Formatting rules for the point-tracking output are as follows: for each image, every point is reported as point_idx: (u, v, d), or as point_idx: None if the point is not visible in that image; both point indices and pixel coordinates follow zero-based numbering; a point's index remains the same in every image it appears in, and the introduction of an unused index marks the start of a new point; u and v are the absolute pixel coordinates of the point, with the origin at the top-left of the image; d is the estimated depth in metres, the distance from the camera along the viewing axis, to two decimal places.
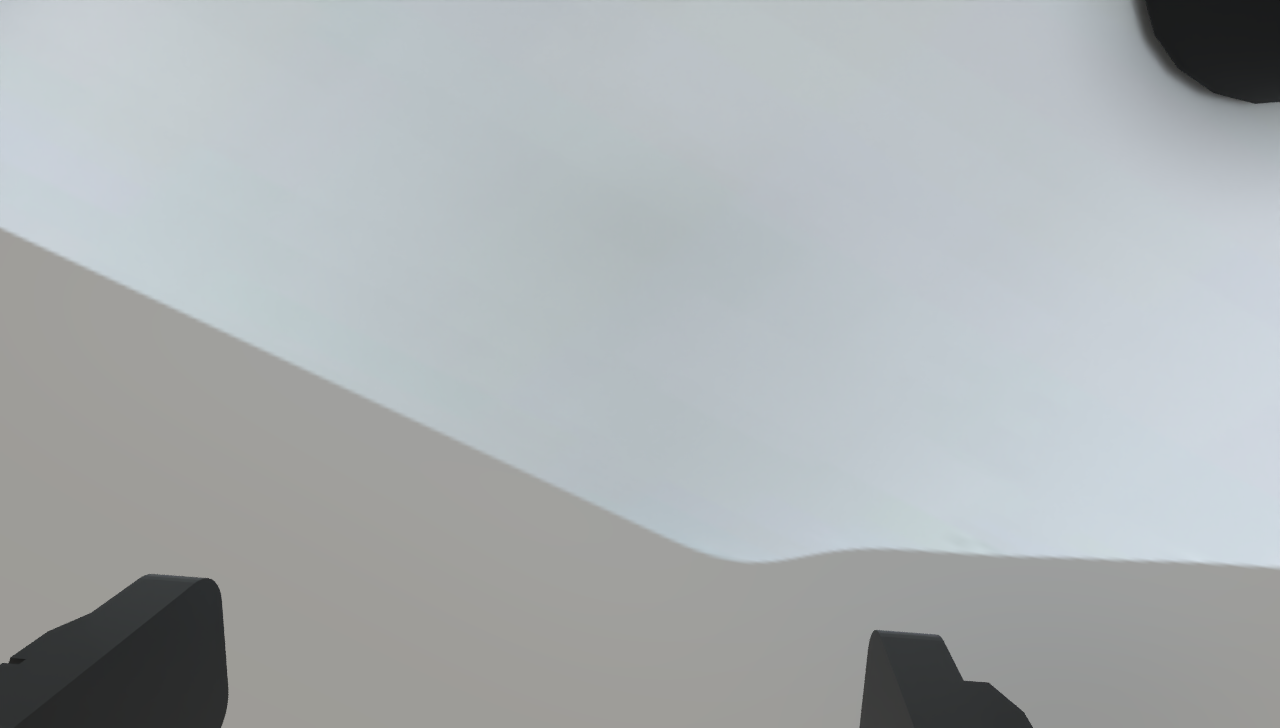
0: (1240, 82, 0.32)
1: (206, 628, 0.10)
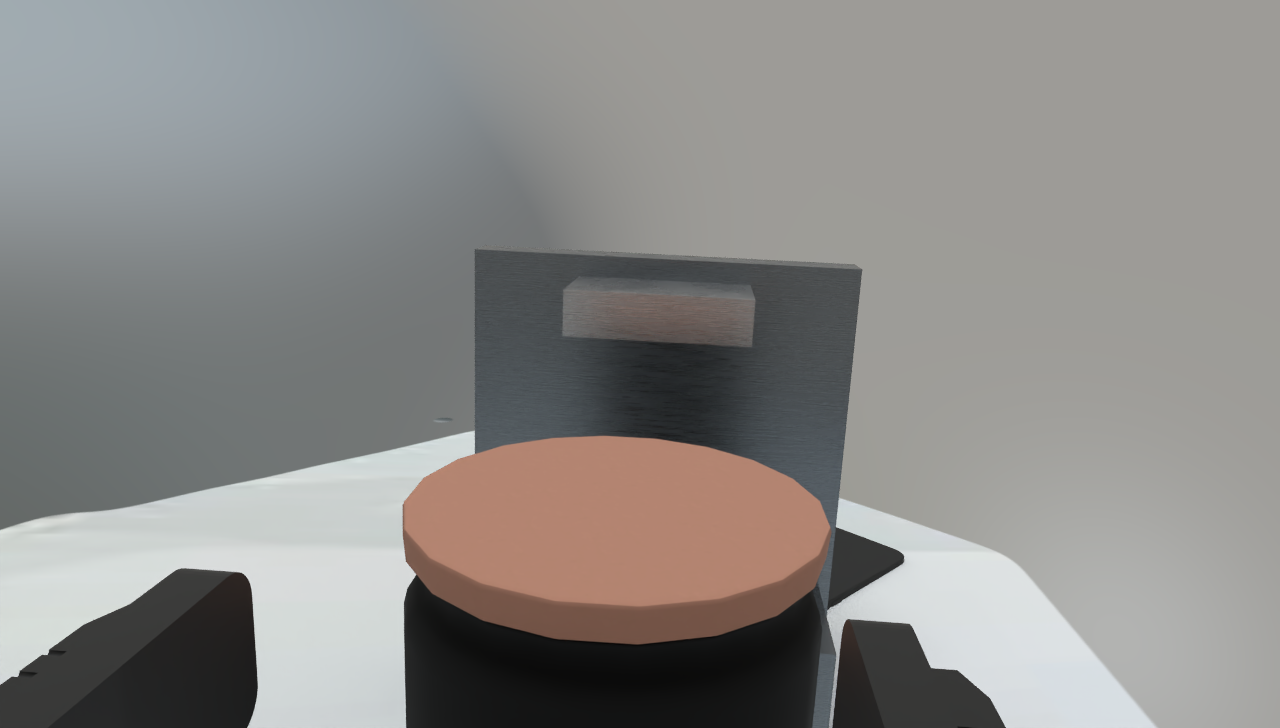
0: None
1: (237, 622, 0.10)
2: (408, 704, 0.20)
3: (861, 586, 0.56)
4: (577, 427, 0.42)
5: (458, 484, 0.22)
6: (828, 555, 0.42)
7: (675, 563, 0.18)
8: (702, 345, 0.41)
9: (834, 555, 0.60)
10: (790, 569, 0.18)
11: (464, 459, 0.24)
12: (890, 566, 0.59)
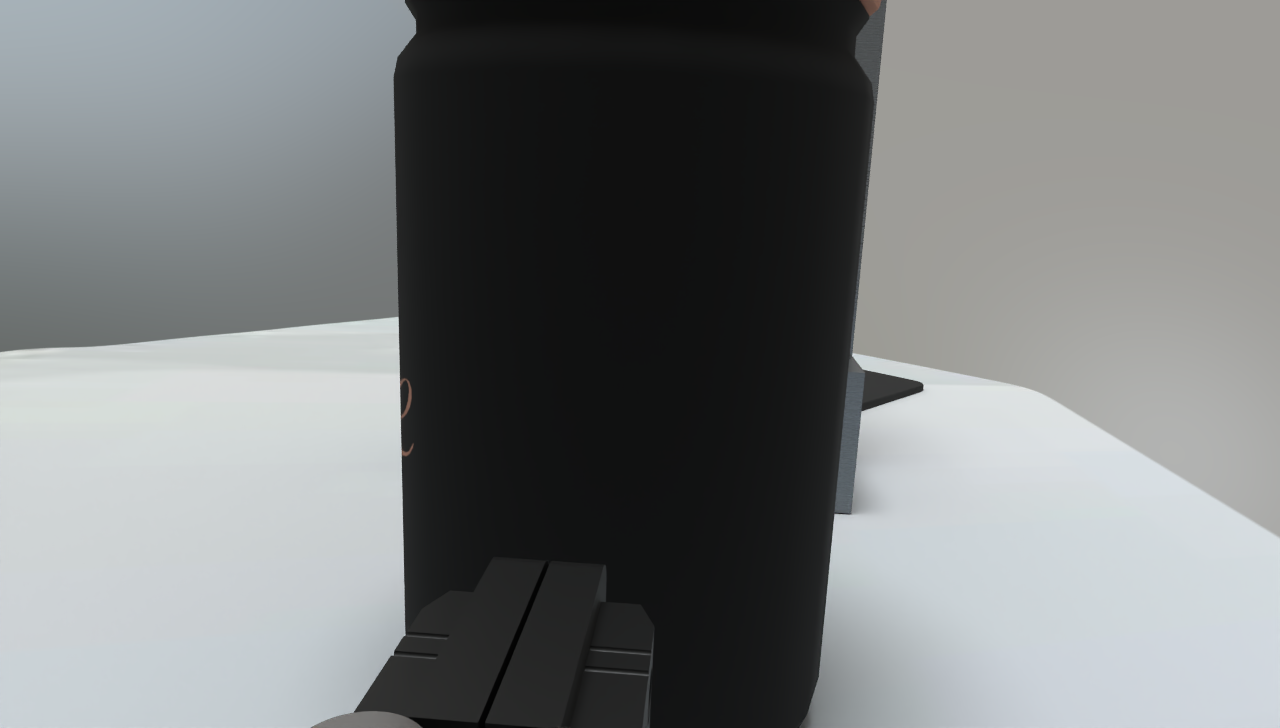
0: (702, 687, 0.17)
1: None
2: (398, 161, 0.18)
3: (880, 402, 0.53)
4: None
5: None
6: None
7: None
8: None
9: None
10: None
11: None
12: (910, 390, 0.56)
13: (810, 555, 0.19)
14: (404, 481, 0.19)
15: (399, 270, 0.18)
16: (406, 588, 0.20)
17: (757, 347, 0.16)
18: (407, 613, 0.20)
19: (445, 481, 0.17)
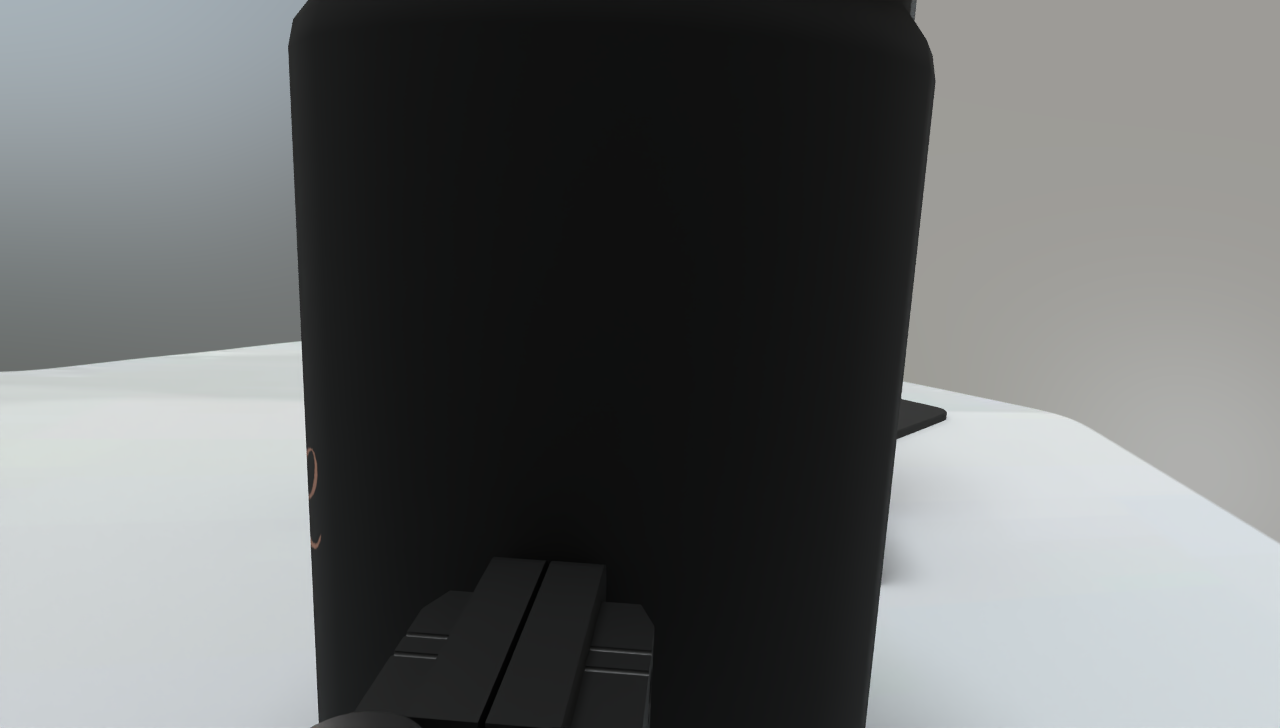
0: None
1: None
2: (296, 159, 0.13)
3: (901, 434, 0.47)
4: None
5: None
6: None
7: None
8: None
9: None
10: None
11: None
12: (932, 418, 0.50)
13: (849, 684, 0.14)
14: (313, 580, 0.15)
15: (301, 305, 0.14)
16: (320, 716, 0.15)
17: (782, 419, 0.12)
18: None
19: (357, 593, 0.13)
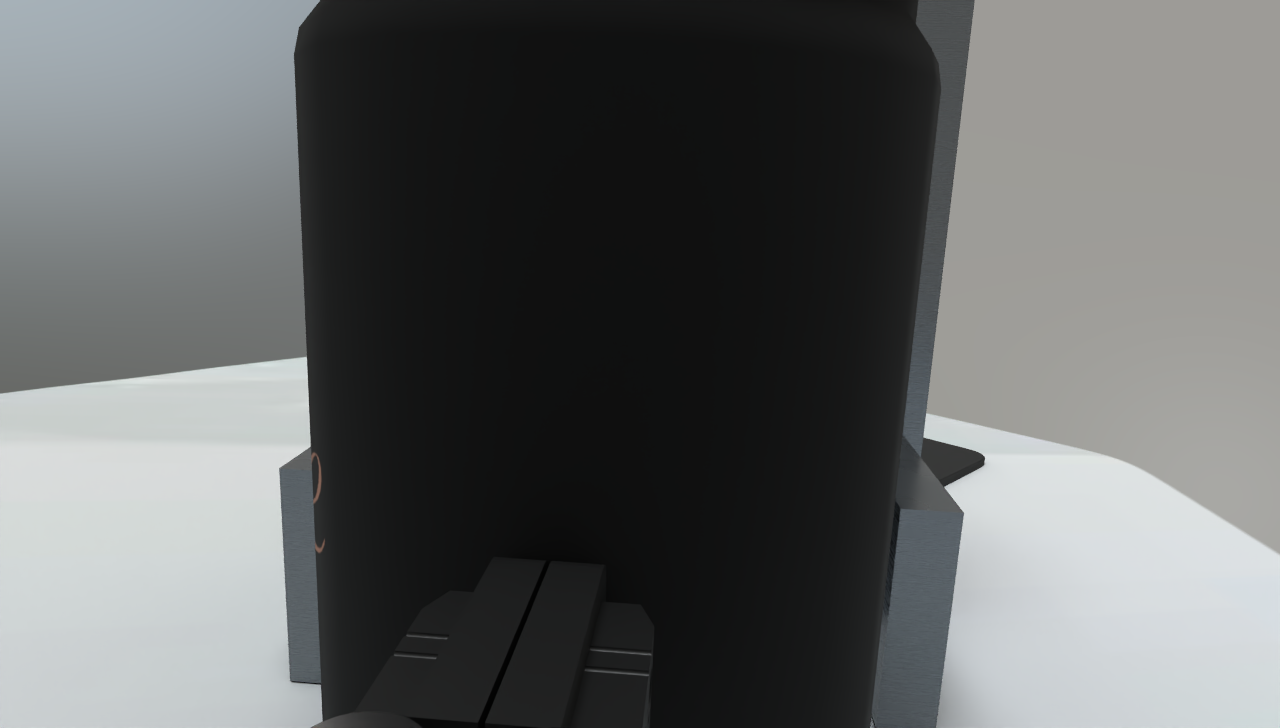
0: None
1: None
2: (301, 166, 0.13)
3: None
4: None
5: None
6: (922, 382, 0.26)
7: None
8: None
9: None
10: None
11: None
12: (969, 466, 0.42)
13: (851, 694, 0.14)
14: (318, 583, 0.15)
15: (306, 311, 0.14)
16: (324, 719, 0.15)
17: (783, 428, 0.12)
18: None
19: (358, 597, 0.13)
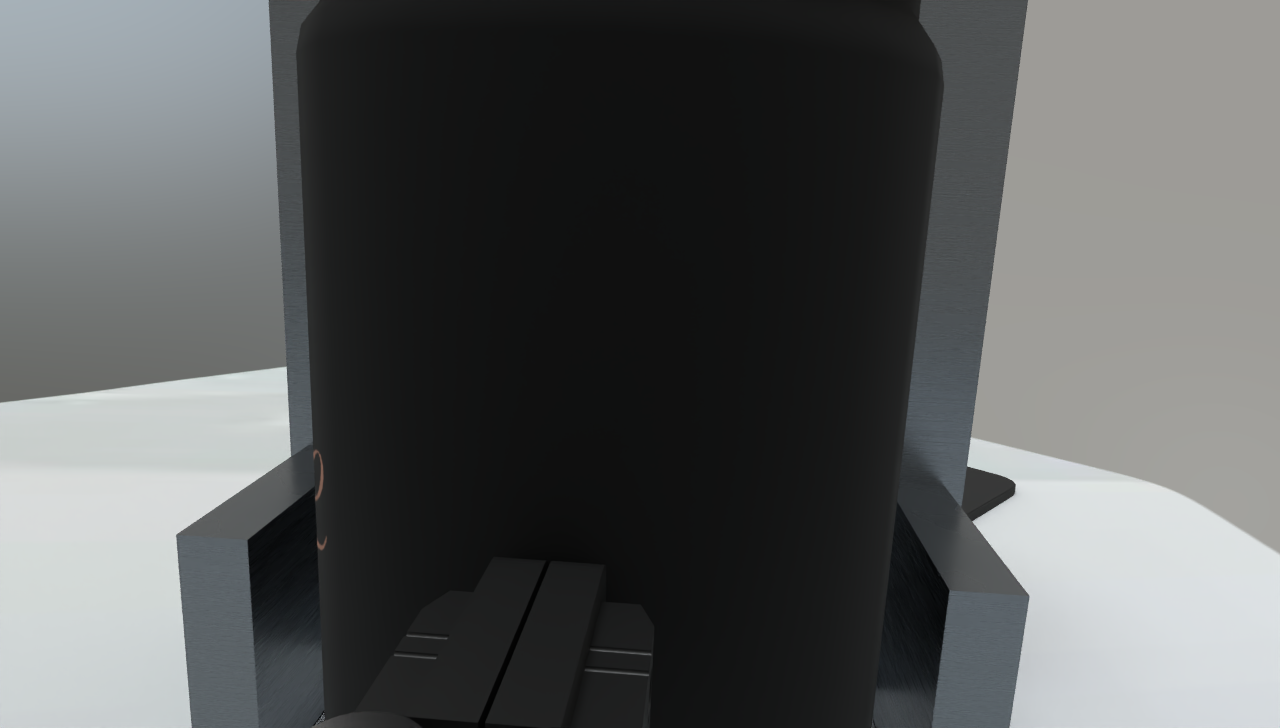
0: None
1: None
2: (303, 163, 0.13)
3: None
4: None
5: None
6: (964, 419, 0.22)
7: None
8: None
9: None
10: None
11: None
12: (1000, 495, 0.38)
13: (853, 692, 0.14)
14: (320, 581, 0.15)
15: (308, 308, 0.14)
16: (326, 716, 0.15)
17: (784, 425, 0.12)
18: None
19: (360, 595, 0.13)
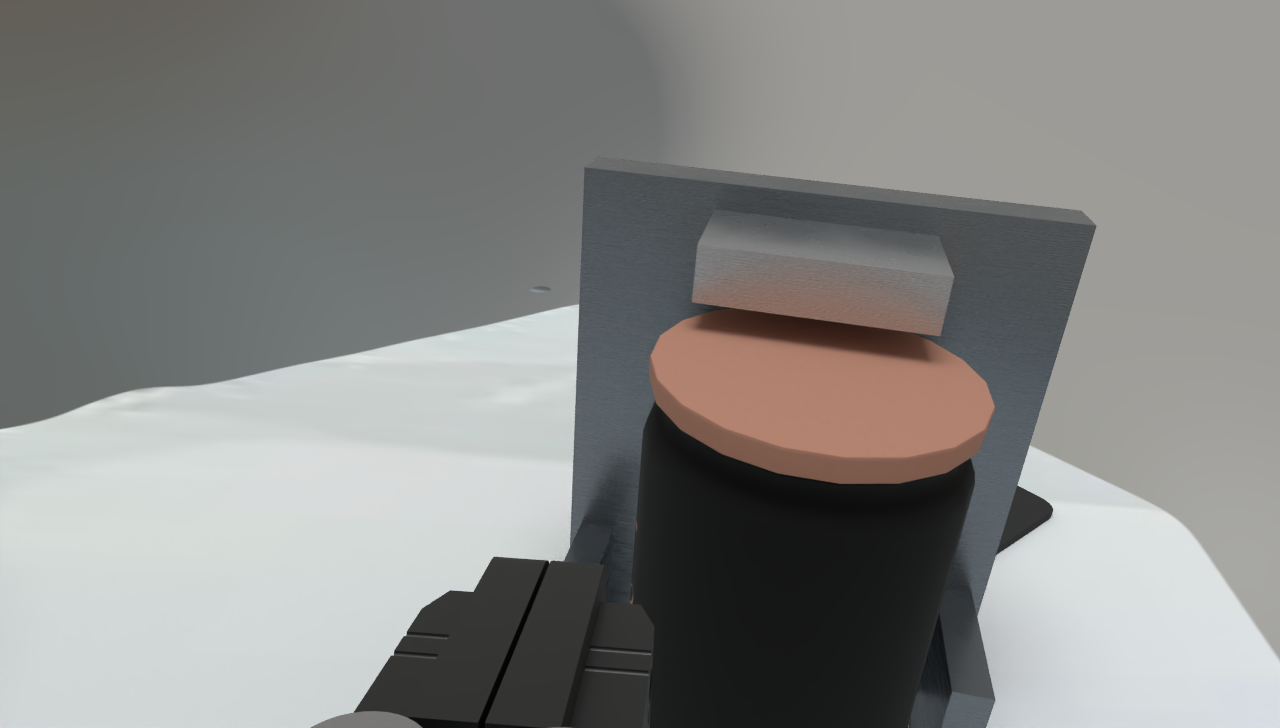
0: None
1: None
2: (648, 505, 0.27)
3: (1003, 547, 0.49)
4: None
5: (689, 343, 0.28)
6: (989, 558, 0.35)
7: (870, 426, 0.24)
8: None
9: None
10: (961, 439, 0.23)
11: (688, 321, 0.30)
12: (1037, 522, 0.51)
13: None
14: None
15: (641, 559, 0.28)
16: None
17: (868, 669, 0.26)
18: None
19: (664, 694, 0.29)
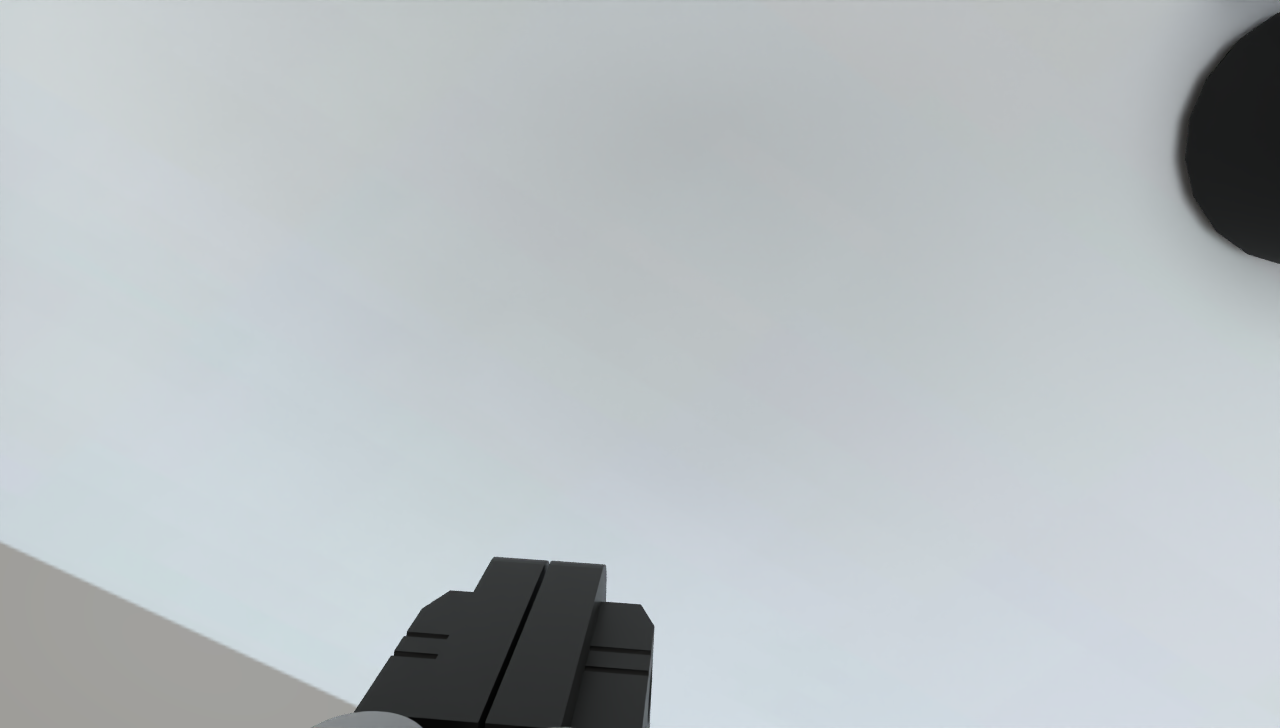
0: (1274, 254, 0.34)
1: None
2: None
3: None
4: None
5: None
6: None
7: None
8: None
9: None
10: None
11: None
12: None
13: None
14: None
15: None
16: (1247, 72, 0.32)
17: None
18: (1237, 75, 0.33)
19: None
